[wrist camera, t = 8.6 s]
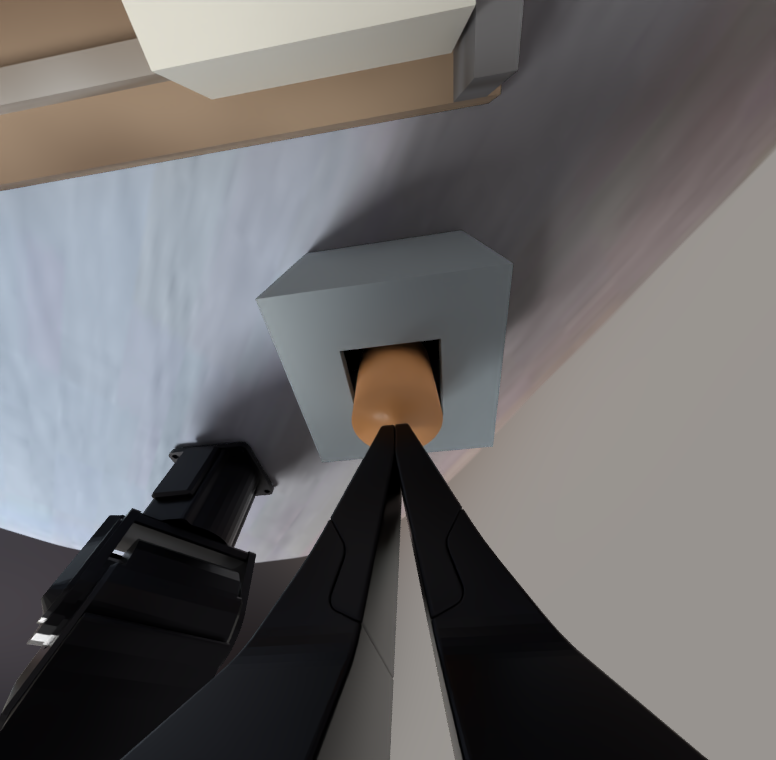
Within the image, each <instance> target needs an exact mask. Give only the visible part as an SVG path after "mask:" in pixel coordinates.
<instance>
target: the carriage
mask: <svg viewBox="0 0 776 760" xmlns="http://www.w3.org/2000/svg"><path fill="white" fill-rule="evenodd" d="M122 3H123V5H124V7H125V10H126V12H127V15H128V17H129V19H130V22H131V24H132V26H133V29H134V31H135V33H136V36H137V38H138V40H139V43H140V45H141V48H142V50H143V52H144V55H145V57H146V59H147V62H148V64H149V66H150V69H151V71H152V72H154V73H156V74H158V75H161V76H163V77H165V78H167V79H169V80H171V81H173V82H176V83H178V84H180V85H182V86H184V87H186V88H188V89H190V90H193V91H195V92H197V93H199V94H201V95H203V96H205V97H208V98H210V99H217V98H222V97H227V96H233V95H238V94H243V93H248V92H253V91H258V90H263V89H269V88H274V87H279V86H284V85H289V84H294V83H300V82H305V81H310V80H315V79H320V78H325V77H330V76H336V75H341V74H346V73H351V72H356V71H361V70H366V69H372V68H377V67H382V66H387V65H392V64H397V63H403V62H408V61H413V60H418V59H423V58H428V57H433V56H439V55H444V54H449V53H452V51H453V49H454V47H455V45H456V43H457V41H458V39H459V37H460V35H461V33H462V31H463V29H464V27H465V25H466V23H467V21H468V19H469V17H470V15H471V13H472V11H473V9H474V7H475V5H476V0H122Z"/></svg>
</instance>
